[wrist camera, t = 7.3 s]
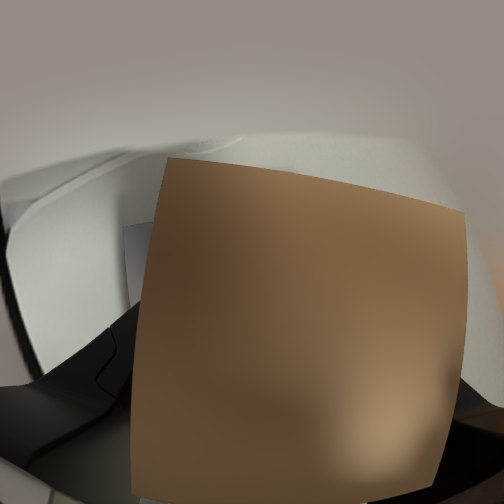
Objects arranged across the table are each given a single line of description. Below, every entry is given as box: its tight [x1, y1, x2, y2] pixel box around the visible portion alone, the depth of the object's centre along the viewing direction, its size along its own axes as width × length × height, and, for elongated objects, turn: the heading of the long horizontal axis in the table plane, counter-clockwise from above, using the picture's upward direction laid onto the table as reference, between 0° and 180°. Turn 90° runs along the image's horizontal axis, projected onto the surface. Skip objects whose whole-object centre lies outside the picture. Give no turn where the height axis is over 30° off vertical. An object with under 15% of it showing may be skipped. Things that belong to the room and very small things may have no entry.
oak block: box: [130, 158, 468, 504], centre depth 10 cm, size 5×5×12 cm
